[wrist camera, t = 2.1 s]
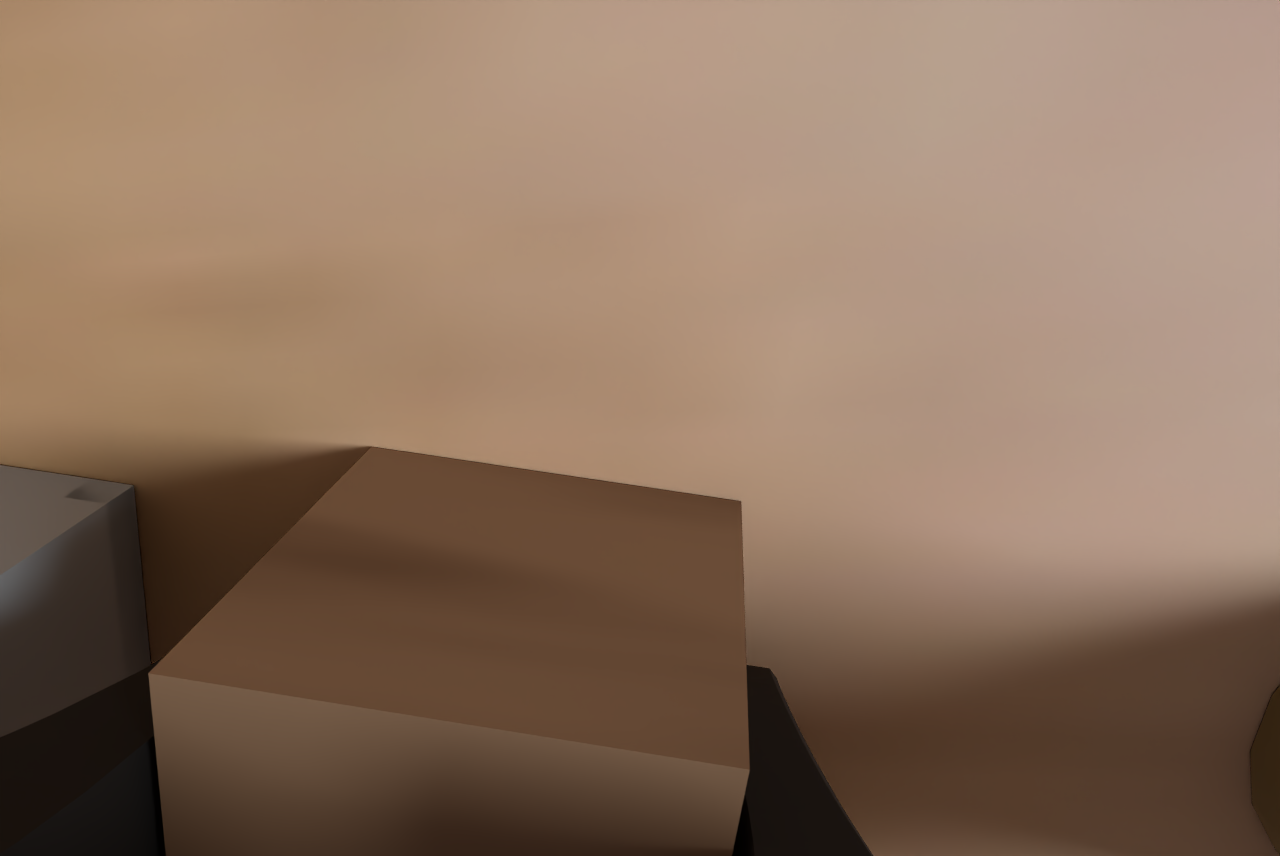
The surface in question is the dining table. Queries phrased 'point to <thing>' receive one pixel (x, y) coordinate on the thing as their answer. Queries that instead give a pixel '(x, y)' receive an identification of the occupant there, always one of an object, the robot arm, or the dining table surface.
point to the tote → (66, 592)
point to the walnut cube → (467, 675)
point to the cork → (1268, 771)
